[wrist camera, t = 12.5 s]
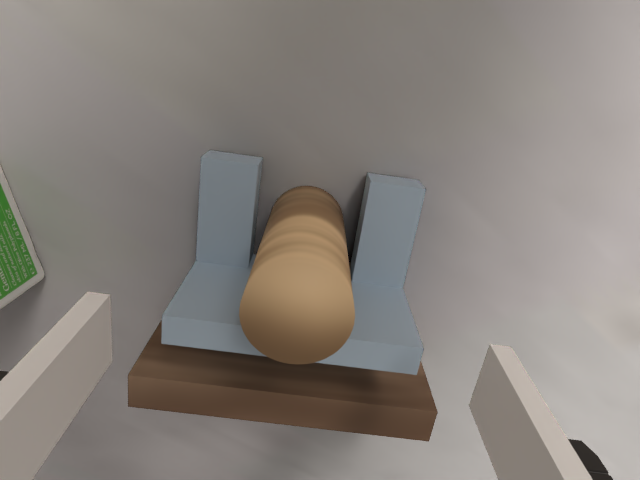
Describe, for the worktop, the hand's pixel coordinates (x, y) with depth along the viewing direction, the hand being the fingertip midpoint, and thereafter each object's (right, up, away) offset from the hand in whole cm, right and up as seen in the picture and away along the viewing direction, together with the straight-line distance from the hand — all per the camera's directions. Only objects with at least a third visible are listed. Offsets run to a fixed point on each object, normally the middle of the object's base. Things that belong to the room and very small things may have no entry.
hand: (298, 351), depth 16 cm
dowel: (0, +5, +12) cm, 13 cm away
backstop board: (-1, -2, +15) cm, 15 cm away
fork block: (0, +3, +12) cm, 13 cm away
